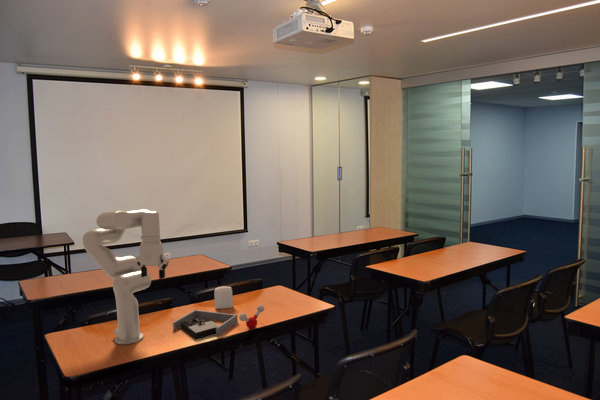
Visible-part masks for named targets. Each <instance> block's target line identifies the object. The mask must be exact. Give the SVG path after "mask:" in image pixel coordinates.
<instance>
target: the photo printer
mask: <svg viewBox="0 0 600 400" xmlns="http://www.w3.org/2000/svg"><path fill="white" fill-rule="evenodd" d="M213 291H214V292H213V293H214V294H213V295H214V297H213V298H214V309H216V310H219V309H229V308H233V307H234V298H233V295H234V294H233V288H232V287H231V286H224V285H223V286H218V287H216V288H214V290H213Z"/></svg>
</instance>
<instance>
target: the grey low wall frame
mask: <svg viewBox="0 0 600 400" xmlns="http://www.w3.org/2000/svg"><path fill="white" fill-rule="evenodd" d="M203 316H205V317H206V318H208V319H209V320H211V321H218V322H223V323H221V324H220V325H219V326H218V327H217V328H216V334H215V337H219V336H221V335H222V334H224V333H225V332H226V331H228V330H230V328H232V327H233V326H234V325H236V324H237V323H239V322H238V321H239V320H238V319H239V318H238V314H234V313H233V314H231V313H224V312H216V311H208V310H207V311H206V310H199V309H194V310H192V311H190V312H189V313H187V314H185V315H183V316H182V317H180V318H177V320H175V321H173V322H172V327H173V328H172V330H173V331H176V330H178V329H181V322H183V321H187V320H191V319H195V318H199V317H203Z"/></svg>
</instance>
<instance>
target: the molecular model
mask: <svg viewBox="0 0 600 400" xmlns="http://www.w3.org/2000/svg"><path fill="white" fill-rule="evenodd" d="M264 311H265V306H264V305H262V304H259V305H258V306H257V308H256V312H255V314H254V315H253V316H250V317H247V316H248V315H247V314H246V313H243V312H242V313H240V314H239V315H238V316H239V317H238V319H239V320H240V321H242V322H244V321H245V326H246V327H247V328H248V329H251V330H252V329H255V328H257V326H258V320H257V319H258V317H259V316H260V313H263V312H264Z"/></svg>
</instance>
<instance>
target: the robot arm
mask: <svg viewBox="0 0 600 400" xmlns="http://www.w3.org/2000/svg"><path fill="white" fill-rule="evenodd" d="M96 225H97V226H98V228H95V229H94V228H93V229H90V230H88V231H86V232H85V233H84V234H83V236H82V244H83V247H84V250H85V251H86V253H87V254H88V255H89V257H91V258H92V259H93V260H95V262H96V263H97V264H98V265H99V267H100V268H101V269H102V270H103V272H104V273H105V275H106V276H107V277H108V279H109V278H110V279H112V280H113V281H112V289H113V293H114V297H115V304H116V318H117V327H116V328H115V329H114V330H113V331H112V334H113V335H116V337H115V338H114V340H115V341H114V342H115V343H116V344H118V345H131V344H135V343H137V342H139V341H142V340H143V338H144V333H142V332H140V331H141V330H140V328H141V327H140V314H139V301H138V299H137V298H136V297H135V295H134V293H136V292H139V291H142V290H147V288H149V287H150V286H151V283H152V279H151V276H150V274H149V272H148V269H147V268H148V267H156V266H157V267H158V278H159V280H162V279H164V278H165V277H166V269H167V267H168V265H169V263H170V259H168V257H166V256H164V255H165V254H164V248H163V244H162V242H161V233H160V232H161V229H160V228H161V226H160V213H159V212H158V211H157V210H149V209H138V210H137V209H136V210H129V211H123V210H114V211H113V210H112V211H105V212H102V213H100V214H99V215H98V216H97V217H96ZM133 228H141V236H140V239H141V240H142V241H141V242H140V245H139V255H138V256H137V257H135V256H133V255H125V256H121V257H119V256H117V255H116V254H115V252H114V251H113V250H111V248H108V247H106V245H110V244H111V245H112V244H116V243H118V242H119V241H120V240H121V239H122V237H123V235H124V234H125V231H126V230H128V229H133ZM147 266H148V267H147Z"/></svg>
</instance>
